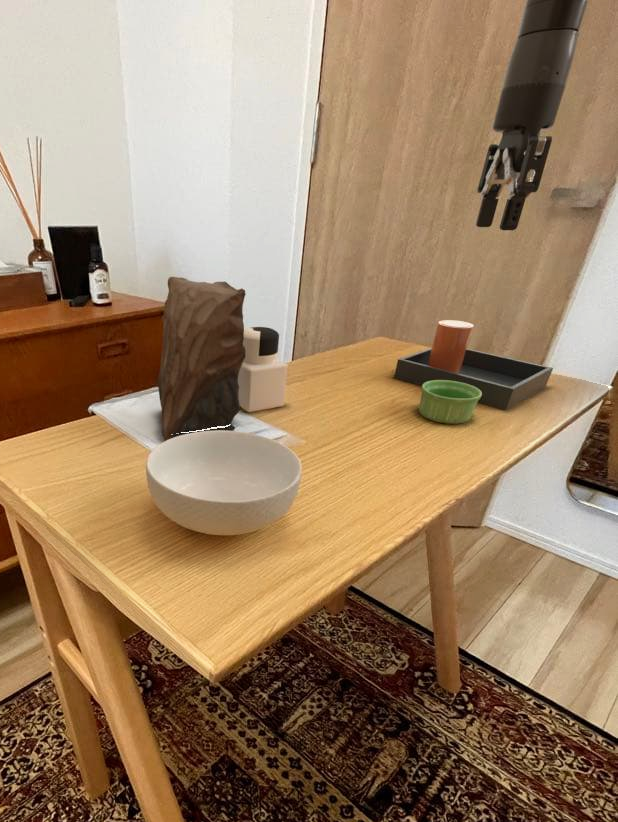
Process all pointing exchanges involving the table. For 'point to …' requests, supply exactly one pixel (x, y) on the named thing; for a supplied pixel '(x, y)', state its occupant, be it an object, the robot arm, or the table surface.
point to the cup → (450, 345)
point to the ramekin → (448, 401)
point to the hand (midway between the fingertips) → (494, 228)
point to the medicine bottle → (261, 371)
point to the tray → (481, 375)
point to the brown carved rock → (200, 356)
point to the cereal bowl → (223, 481)
